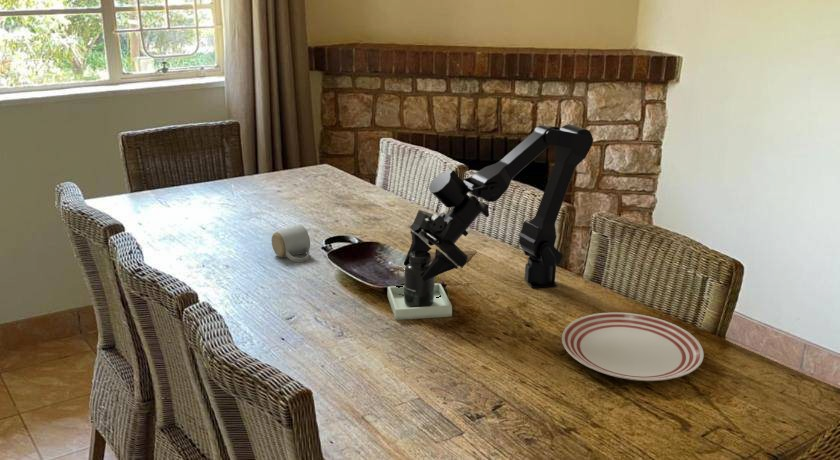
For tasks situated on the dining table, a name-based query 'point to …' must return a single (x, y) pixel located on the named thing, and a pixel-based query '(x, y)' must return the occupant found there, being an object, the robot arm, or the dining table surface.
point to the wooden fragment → (468, 253)
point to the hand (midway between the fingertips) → (413, 272)
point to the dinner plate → (632, 346)
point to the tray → (402, 311)
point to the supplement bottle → (418, 281)
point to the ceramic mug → (291, 242)
